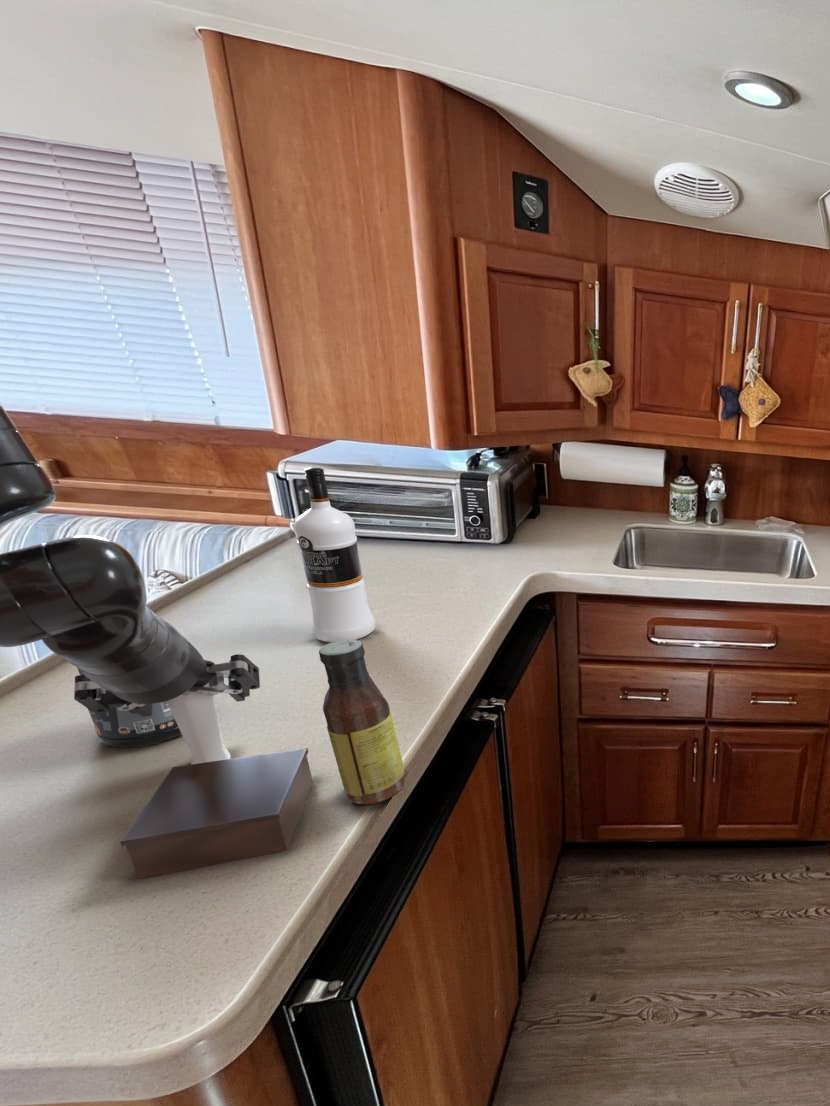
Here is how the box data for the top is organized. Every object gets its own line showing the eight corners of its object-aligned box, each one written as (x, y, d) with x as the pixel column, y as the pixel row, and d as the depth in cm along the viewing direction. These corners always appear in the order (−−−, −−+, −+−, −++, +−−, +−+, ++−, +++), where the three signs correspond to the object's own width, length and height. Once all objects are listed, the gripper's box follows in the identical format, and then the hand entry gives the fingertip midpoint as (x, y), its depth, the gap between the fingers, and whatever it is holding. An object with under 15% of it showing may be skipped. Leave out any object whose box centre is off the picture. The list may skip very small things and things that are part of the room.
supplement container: (123, 714, 88) (94, 635, 83) (220, 702, 92) (198, 627, 87) (81, 757, 79) (47, 672, 74) (191, 743, 83) (165, 661, 79)
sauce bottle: (414, 774, 81) (390, 633, 74) (394, 806, 75) (365, 658, 68) (357, 776, 80) (327, 633, 72) (332, 809, 74) (297, 658, 67)
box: (134, 881, 63) (119, 842, 61) (185, 802, 73) (173, 766, 71) (289, 851, 68) (278, 813, 66) (315, 781, 78) (307, 747, 76)
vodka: (387, 631, 117) (360, 468, 106) (334, 649, 109) (298, 475, 98) (356, 619, 121) (326, 460, 110) (302, 635, 113) (264, 466, 102)
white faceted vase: (181, 777, 77) (144, 668, 72) (195, 756, 81) (161, 651, 75) (229, 769, 79) (196, 663, 73) (241, 750, 83) (211, 646, 77)
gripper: (229, 613, 69) (268, 662, 82) (38, 633, 62) (114, 683, 75) (232, 678, 67) (272, 717, 80) (34, 707, 59) (113, 744, 73)
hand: (195, 700), depth 77 cm, fingers open, 8 cm apart
